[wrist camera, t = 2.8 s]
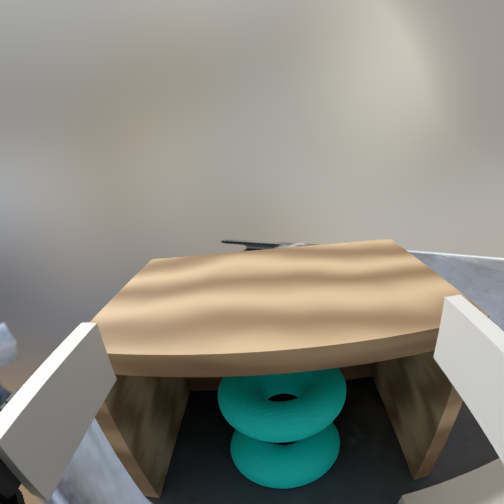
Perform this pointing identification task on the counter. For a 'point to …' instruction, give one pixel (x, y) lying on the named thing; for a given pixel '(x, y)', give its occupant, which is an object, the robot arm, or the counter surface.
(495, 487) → the platter
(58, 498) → the counter surface
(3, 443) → the robot arm
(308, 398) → the donuts
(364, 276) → the tunnel
